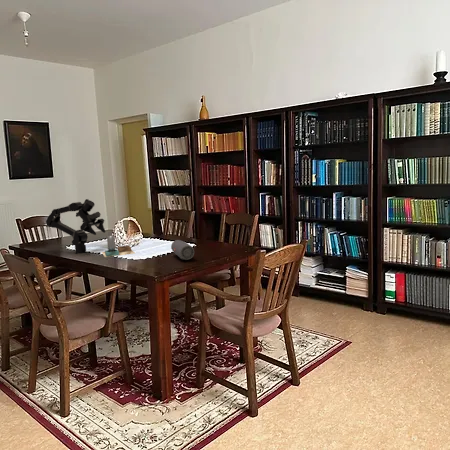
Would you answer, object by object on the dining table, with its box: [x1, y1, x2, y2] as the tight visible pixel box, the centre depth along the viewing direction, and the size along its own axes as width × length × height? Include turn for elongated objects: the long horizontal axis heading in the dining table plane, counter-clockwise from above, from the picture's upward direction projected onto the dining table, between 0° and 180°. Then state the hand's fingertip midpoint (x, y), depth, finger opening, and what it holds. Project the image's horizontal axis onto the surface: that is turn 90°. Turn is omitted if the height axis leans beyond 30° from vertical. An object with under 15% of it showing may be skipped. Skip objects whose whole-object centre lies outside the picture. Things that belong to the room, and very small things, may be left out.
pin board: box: [101, 245, 136, 258], centre depth 279 cm, size 19×18×4 cm
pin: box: [106, 235, 116, 252], centre depth 272 cm, size 4×4×12 cm
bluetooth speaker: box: [170, 239, 195, 261], centre depth 258 cm, size 23×9×10 cm, turn 21°
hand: (100, 233), depth 283 cm, fingers open, 9 cm apart
